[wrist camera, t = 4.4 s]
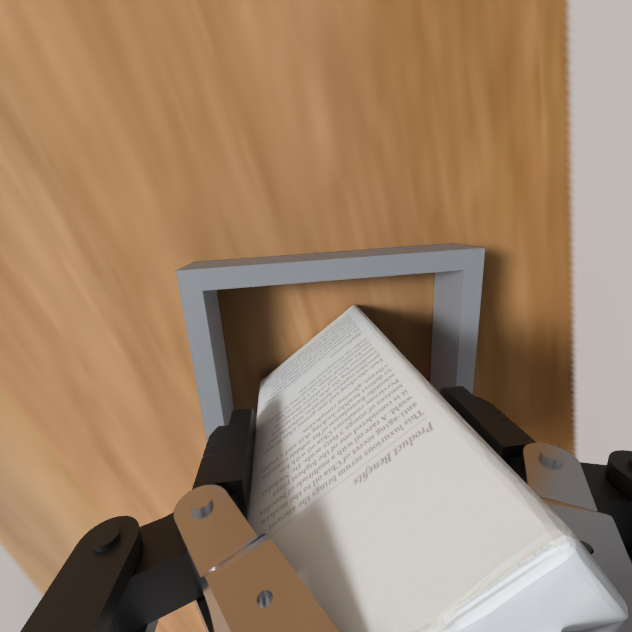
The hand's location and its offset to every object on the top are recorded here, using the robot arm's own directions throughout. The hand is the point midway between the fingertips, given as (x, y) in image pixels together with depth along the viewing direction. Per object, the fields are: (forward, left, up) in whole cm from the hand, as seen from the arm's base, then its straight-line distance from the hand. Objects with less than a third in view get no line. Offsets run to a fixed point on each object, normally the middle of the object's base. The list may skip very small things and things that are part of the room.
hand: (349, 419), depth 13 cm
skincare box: (0, 0, -4) cm, 4 cm away
